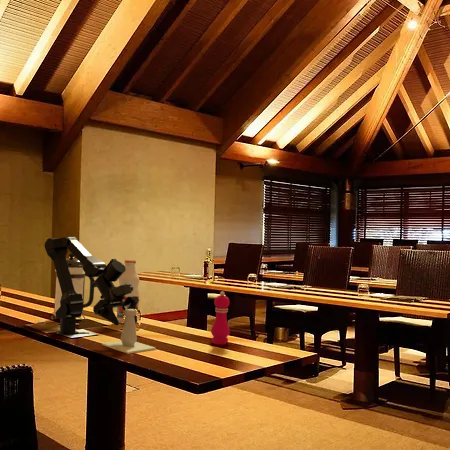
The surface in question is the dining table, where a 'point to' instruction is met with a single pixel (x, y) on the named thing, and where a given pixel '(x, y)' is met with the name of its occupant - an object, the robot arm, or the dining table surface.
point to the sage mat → (132, 349)
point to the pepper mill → (220, 320)
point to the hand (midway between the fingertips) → (127, 323)
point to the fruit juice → (128, 277)
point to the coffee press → (74, 283)
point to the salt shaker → (129, 328)
